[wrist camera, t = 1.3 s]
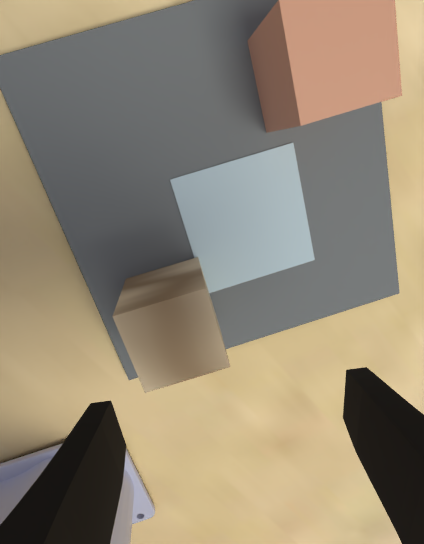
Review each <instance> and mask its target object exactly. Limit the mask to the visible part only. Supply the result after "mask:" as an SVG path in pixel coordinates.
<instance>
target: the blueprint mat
mask: <svg viewBox="0 0 424 544" xmlns="http://www.w3.org/2000/svg"><path fill="white" fill-rule="evenodd" d="M277 1H278V0H194V1H191V2H187V3H184V4H180V5H177V6H173V7H169V8H166V9H162V10H159V11H155V12H152V13H148V14H145V15H141V16H138V17H134V18H130V19H127V20H123V21H120V22H116V23H113V24H109V25H106V26H102V27H99V28H95V29H91V30H88V31H84V32H81V33H77V34H74V35H70V36H67V37H63V38H60V39H56V40H52V41H49V42H45V43H42V44H38V45H35V46H31V47H28V48H24V49H21V50H17V51H14V52H10V53H6V54H3V55H0V89H1V91H2V93H3V96H4V98H5V100H6V102H7V105H8V107H9V109H10V111H11V114H12V116H13V118H14V120H15V123H16V125H17V127H18V130H19V132H20V134H21V136H22V139H23V141H24V143H25V145H26V148H27V150H28V152H29V154H30V157H31V159H32V161H33V164H34V166H35V168H36V170H37V173H38V175H39V177H40V179H41V182H42V184H43V186H44V188H45V191H46V193H47V195H48V198H49V200H50V202H51V204H52V207H53V209H54V211H55V213H56V216H57V218H58V220H59V222H60V225H61V227H62V229H63V232H64V234H65V236H66V238H67V241H68V243H69V245H70V247H71V250H72V252H73V254H74V256H75V259H76V261H77V263H78V266H79V268H80V270H81V272H82V275H83V277H84V279H85V281H86V284H87V286H88V288H89V290H90V293H91V295H92V297H93V300H94V302H95V304H96V306H97V309H98V311H99V313H100V315H101V318H102V320H103V322H104V324H105V327H106V329H107V331H108V334H109V336H110V338H111V340H112V343H113V345H114V347H115V349H116V352H117V354H118V356H119V358H120V361H121V363H122V365H123V368H124V370H125V372H126V374H127V377H128V379H129V380H131V379H134V378H138V375H137V373H136V370H135V368H134V366H133V363H132V361H131V359H130V356H129V354H128V352H127V349H126V347H125V345H124V342H123V340H122V338H121V335H120V333H119V331H118V328H117V326H116V324H115V321H114V319H113V317H112V316H113V313H114V311H115V308H116V305H117V302H118V299H119V297H120V294H121V291H122V288H123V285H124V282H125V280H126V279H127V278H130V277H133V276H137V275H140V274H143V273H147V272H150V271H153V270H156V269H160V268H163V267H166V266H170V265H173V264H176V263H180V262H183V261H186V260H190V259H193V258H196V257H198V258H199V262H200V265H201V268H202V271H203V275H204V278H205V281H206V284H207V288H208V291H209V294H210V297H211V301H212V304H213V307H214V310H215V314H216V317H217V320H218V324H219V327H220V331H221V334H222V338H223V342H224V345H225V349H228V348H231V347H234V346H237V345H240V344H243V343H246V342H249V341H253V340H256V339H259V338H262V337H265V336H268V335H271V334H274V333H277V332H280V331H284V330H287V329H290V328H293V327H296V326H299V325H302V324H305V323H308V322H312V321H315V320H318V319H321V318H324V317H327V316H330V315H333V314H336V313H339V312H343V311H346V310H349V309H352V308H355V307H358V306H361V305H364V304H367V303H371V302H374V301H377V300H380V299H383V298H386V297H389V296H392V295H395V294H399V283H398V273H397V262H396V252H395V241H394V231H393V220H392V210H391V199H390V189H389V178H388V168H387V157H386V147H385V136H384V126H383V115H382V105H381V102H379V103H375V104H372V105H369V106H365V107H362V108H359V109H355V110H352V111H349V112H345V113H342V114H339V115H335V116H332V117H329V118H325V119H322V120H319V121H315V122H312V123H309V124H305V125H302V126H298V127H293V128H288V129H283V130H278V131H273V132H268V133H266V128H265V123H264V119H263V114H262V109H261V104H260V99H259V94H258V90H257V85H256V80H255V75H254V70H253V65H252V61H251V56H250V51H249V46H248V39H249V38H250V37H251V35H252V34H253V33H254V31H255V30H256V29H257V28H258V26H259V25H260V24H261V22H262V21H263V20H264V18H265V17H266V16H267V14H268V13H269V12H270V10H271V9H272V8H273V6H274V5H275V4H276V2H277Z"/></svg>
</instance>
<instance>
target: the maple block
mask: <svg viewBox="0 0 424 544" xmlns="http://www.w3.org/2000/svg"><path fill="white" fill-rule="evenodd" d="M112 317H113V319H114V321H115V324H116V326H117V328H118V331H119V333H120V335H121V338H122V340H123V342H124V345H125V347H126V349H127V352H128V354H129V356H130V359H131V361H132V363H133V366H134V368H135V370H136V373H137V375H138V377H139V380H140V382H141V385H142V387H143V389H144V392H145V393H147V392H150V391H153V390H156V389H160V388H163V387H166V386H169V385H173V384H176V383H179V382H182V381H186V380H189V379H192V378H195V377H199V376H202V375H205V374H208V373H212V372H215V371H218V370H222V369H225V368H228V367H230V363H229V360H228V356H227V353H226V349H225V345H224V342H223V338H222V334H221V331H220V327H219V324H218V320H217V317H216V314H215V310H214V307H213V304H212V301H211V297H210V294H209V291H208V288H207V284H206V281H205V278H204V275H203V271H202V268H201V265H200V262H199V258H198V257H196V258H193V259H190V260H186V261H183V262H180V263H176V264H173V265H170V266H166V267H163V268H160V269H156V270H153V271H150V272H147V273H143V274H140V275H137V276H133V277H130V278H127V279H126V280H125V282H124V285H123V288H122V291H121V294H120V297H119V299H118V302H117V305H116V308H115V311H114V313H113V316H112Z"/></svg>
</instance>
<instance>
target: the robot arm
mask: <svg viewBox="0 0 424 544" xmlns="http://www.w3.org/2000/svg"><path fill="white" fill-rule="evenodd" d="M343 419H344V422H345V424H346V427H347V430H348V433H349V435H350V438H351V440H352V443H353V446H354V448H355V451H356V453H357V455H358V457H359V459H360V461H361V463H362V465H363V467H364V469H365V471H366V473H367V475H368V477H369V479H370V481H371V483H372V485H373V487H374V489H375V491H376V492H377V494H378V496H379V498H380V500H381V502H382V504H383V506H384V508H385V510H386V512H387V514H388V516H389V518H390V520H391V522H392V524H393V526H394V528H395V530H396V532H397V534H398V536H399V538H400V540H401V542H402V544H424V415H423V414H422V413H421V412H420V411H418V410H417V409H416V408H415V407H413V406H412V405H411V404H410V403H408V402H407V401H406V400H405V399H404V398H402V397H401V396H400V395H399V394H398V393H396V392H395V391H394V390H393V389H392V388H390V387H389V386H388V385H387V384H386V383H385V382H383V381H382V380H381V379H380V378H379V377H377V376H376V375H375V374H374V373H373V372H372V371H370V370H369V369H368V368H367V367H365V368H358V369H350V370H346V383H345V397H344V411H343ZM154 514H155V507H154V505H153V502H152V500H151V498H150V496H149V494H148V492H147V490H146V488H145V486H144V484H143V482H142V480H141V478H140V476H139V474H138V472H137V470H136V467H135V465H134V463H133V461H132V459H131V457H130V455H129V453H128V451H127V449H126V443H125V440H124V438H123V435H122V432H121V429H120V426H119V423H118V420H117V417H116V414H115V411H114V408H113V405H112V402H111V401H105V402H97V403H91V404H90V405H89V406H88V408H87V409H86V411H85V412H84V414H83V415H82V417H81V418H80V419H79V421H78V422H77V424H76V425H75V427H74V428H73V430H72V431H71V433H70V434H69V435H68V437H67V438H66V440H65V441H64V443H62V444H59V445H56V446H53V447H50V448H47V449H44V450H40V451H37V452H34V453H31V454H28V455H25V456H22V457H19V458H16V459H13V460H10V461H7V462H4V463H1V464H0V544H130V542H131V529H132V524H134V523H137V522H140V521H143V520H146V519H149V518H151V517H153V516H154Z"/></svg>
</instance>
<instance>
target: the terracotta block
mask: <svg viewBox="0 0 424 544" xmlns="http://www.w3.org/2000/svg"><path fill="white" fill-rule="evenodd" d="M248 46H249V51H250V56H251V61H252V65H253V70H254V75H255V80H256V85H257V90H258V94H259V99H260V104H261V109H262V114H263V119H264V123H265V128H266V133H268V132H273V131H278V130H283V129H288V128H293V127H298V126H302V125H305V124H309V123H312V122H315V121H319V120H322V119H325V118H329V117H332V116H335V115H339V114H342V113H345V112H349V111H352V110H355V109H359V108H362V107H365V106H369V105H372V104H375V103H379V102H382V101H385V100H389V99H392V98H395V97H399V96H402V89H401V76H400V63H399V50H398V37H397V23H396V10H395V0H278V1H277V2H276V4H275V5H274V6H273V8H272V9H271V10H270V12H269V13H268V14H267V16H266V17H265V18H264V20H263V21H262V22H261V24H260V25H259V26H258V28H257V29H256V30H255V31H254V33H253V34H252V35H251V37H250V38H249V39H248Z"/></svg>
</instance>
